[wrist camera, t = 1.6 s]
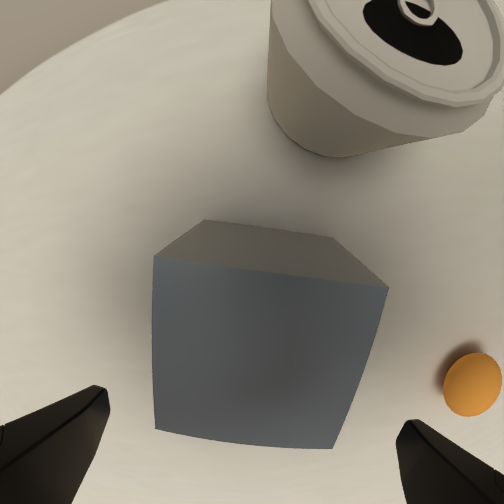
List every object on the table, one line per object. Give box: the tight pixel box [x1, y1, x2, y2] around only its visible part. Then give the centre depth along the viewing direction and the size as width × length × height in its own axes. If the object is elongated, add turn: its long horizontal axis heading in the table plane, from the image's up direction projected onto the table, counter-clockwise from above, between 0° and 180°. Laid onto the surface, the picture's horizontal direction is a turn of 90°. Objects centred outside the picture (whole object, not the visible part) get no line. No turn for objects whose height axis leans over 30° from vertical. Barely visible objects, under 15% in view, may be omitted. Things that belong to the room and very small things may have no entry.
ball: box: [443, 353, 502, 417], centre depth 18 cm, size 5×5×5 cm
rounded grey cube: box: [152, 220, 389, 449], centre depth 15 cm, size 8×8×9 cm
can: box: [267, 0, 504, 157], centre depth 10 cm, size 8×8×12 cm
